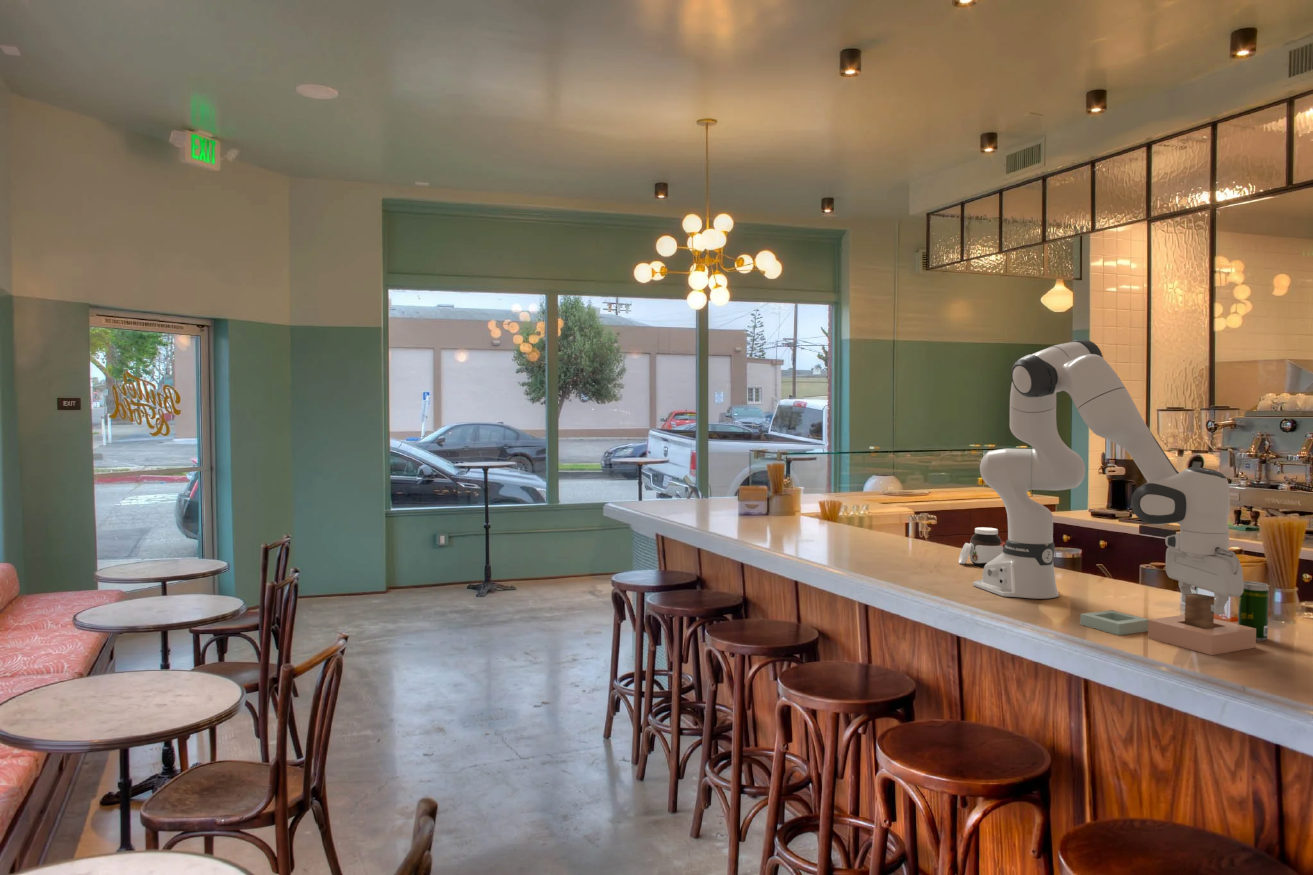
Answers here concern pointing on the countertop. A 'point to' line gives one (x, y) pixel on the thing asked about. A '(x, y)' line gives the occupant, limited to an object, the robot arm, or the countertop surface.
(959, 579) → the countertop surface
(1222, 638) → the socket block
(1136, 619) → the green square frame
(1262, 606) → the beer can
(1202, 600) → the plug
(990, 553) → the spread jar
